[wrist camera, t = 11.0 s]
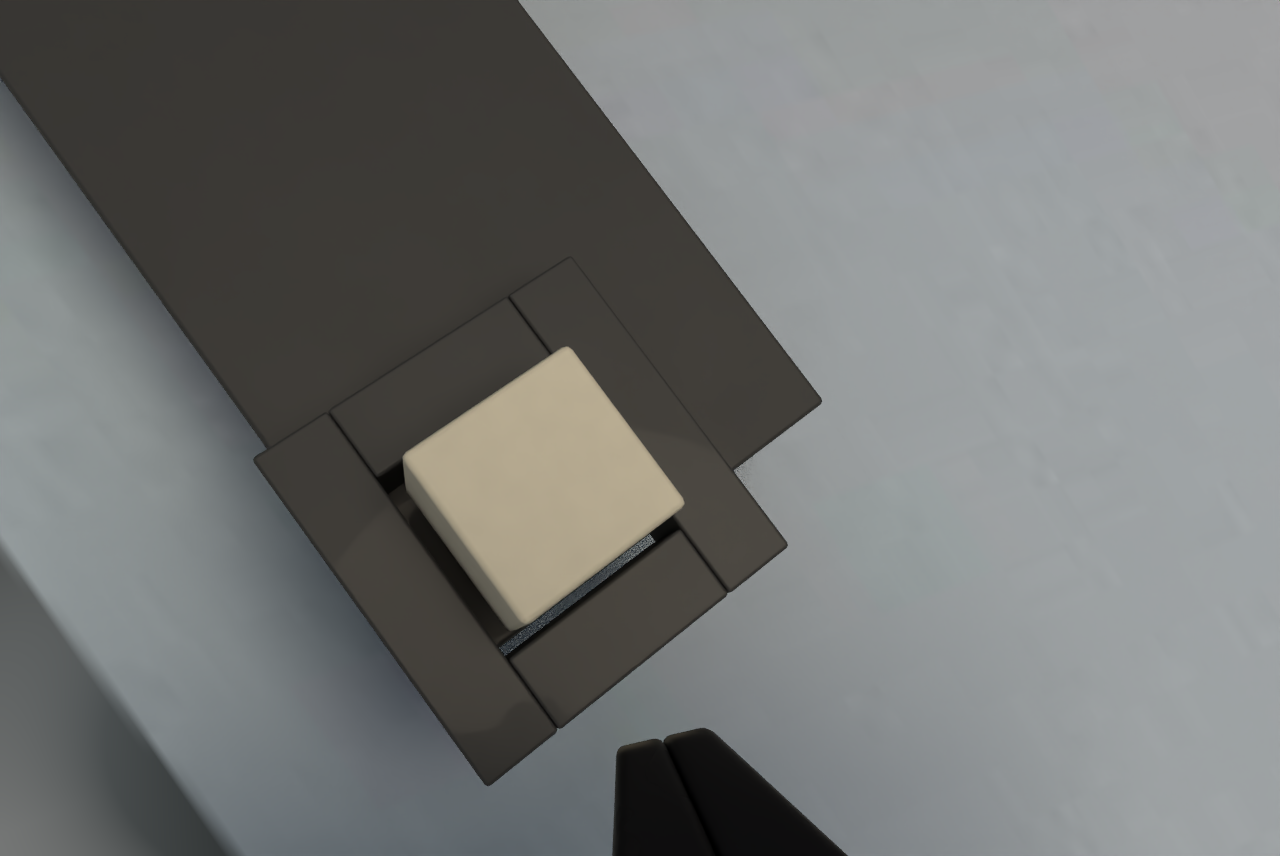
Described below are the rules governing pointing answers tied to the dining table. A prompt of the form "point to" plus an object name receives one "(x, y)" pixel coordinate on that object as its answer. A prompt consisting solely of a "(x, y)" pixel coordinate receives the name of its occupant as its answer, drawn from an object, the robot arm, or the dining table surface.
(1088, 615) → the dining table surface
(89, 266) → the dining table surface
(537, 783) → the dining table surface
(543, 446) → the cream cube block
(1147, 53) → the dining table surface
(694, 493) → the dark notched block
